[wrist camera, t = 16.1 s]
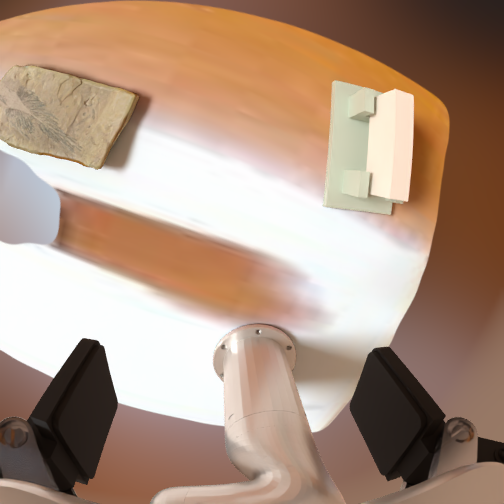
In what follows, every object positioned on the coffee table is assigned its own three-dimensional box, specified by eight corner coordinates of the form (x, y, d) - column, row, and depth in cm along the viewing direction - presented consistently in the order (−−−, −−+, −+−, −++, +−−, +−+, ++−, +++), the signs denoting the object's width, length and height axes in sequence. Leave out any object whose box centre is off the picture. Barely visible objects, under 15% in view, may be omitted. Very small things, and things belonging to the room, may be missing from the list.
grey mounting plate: (386, 213, 37) (411, 221, 31) (322, 205, 36) (341, 213, 30) (394, 100, 33) (420, 91, 27) (332, 82, 32) (351, 68, 26)
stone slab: (-3, 61, 22) (135, 82, 26) (10, 67, 26) (145, 92, 30) (-30, 132, 24) (95, 180, 29) (-15, 133, 28) (109, 179, 33)
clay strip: (369, 99, 29) (395, 88, 23) (386, 104, 29) (413, 95, 24) (363, 193, 32) (389, 198, 27) (380, 195, 33) (407, 201, 27)
